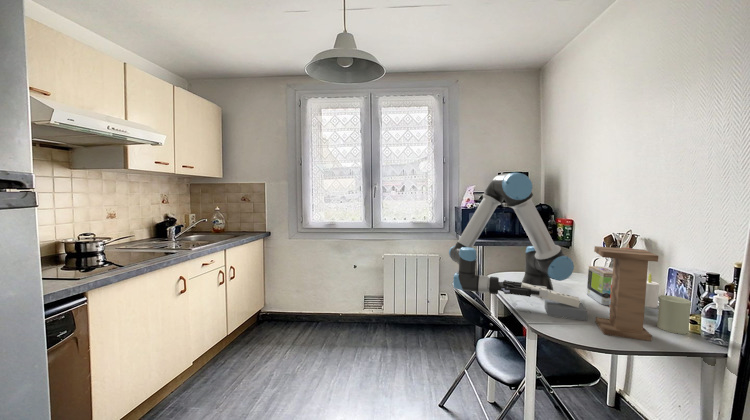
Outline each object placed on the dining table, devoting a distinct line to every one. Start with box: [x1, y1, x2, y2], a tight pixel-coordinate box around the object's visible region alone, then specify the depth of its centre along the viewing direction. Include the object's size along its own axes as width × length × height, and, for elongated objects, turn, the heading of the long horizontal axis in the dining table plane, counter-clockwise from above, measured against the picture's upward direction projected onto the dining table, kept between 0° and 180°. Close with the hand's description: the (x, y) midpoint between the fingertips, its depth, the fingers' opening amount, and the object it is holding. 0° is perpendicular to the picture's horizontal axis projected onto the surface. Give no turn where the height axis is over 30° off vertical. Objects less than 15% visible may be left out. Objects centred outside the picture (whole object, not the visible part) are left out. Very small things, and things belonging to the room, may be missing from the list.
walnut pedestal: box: [593, 245, 659, 342], centre depth 125 cm, size 12×16×30 cm
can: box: [656, 294, 692, 335], centre depth 128 cm, size 9×9×12 cm
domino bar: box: [521, 281, 581, 308], centre depth 143 cm, size 4×22×3 cm, turn 70°
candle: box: [645, 272, 660, 309], centre depth 153 cm, size 6×6×15 cm
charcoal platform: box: [544, 298, 588, 322], centre depth 142 cm, size 10×14×4 cm
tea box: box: [586, 265, 613, 306], centre depth 159 cm, size 15×10×15 cm, turn 171°
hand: (547, 291), depth 143 cm, fingers closed on domino bar, 4 cm apart
